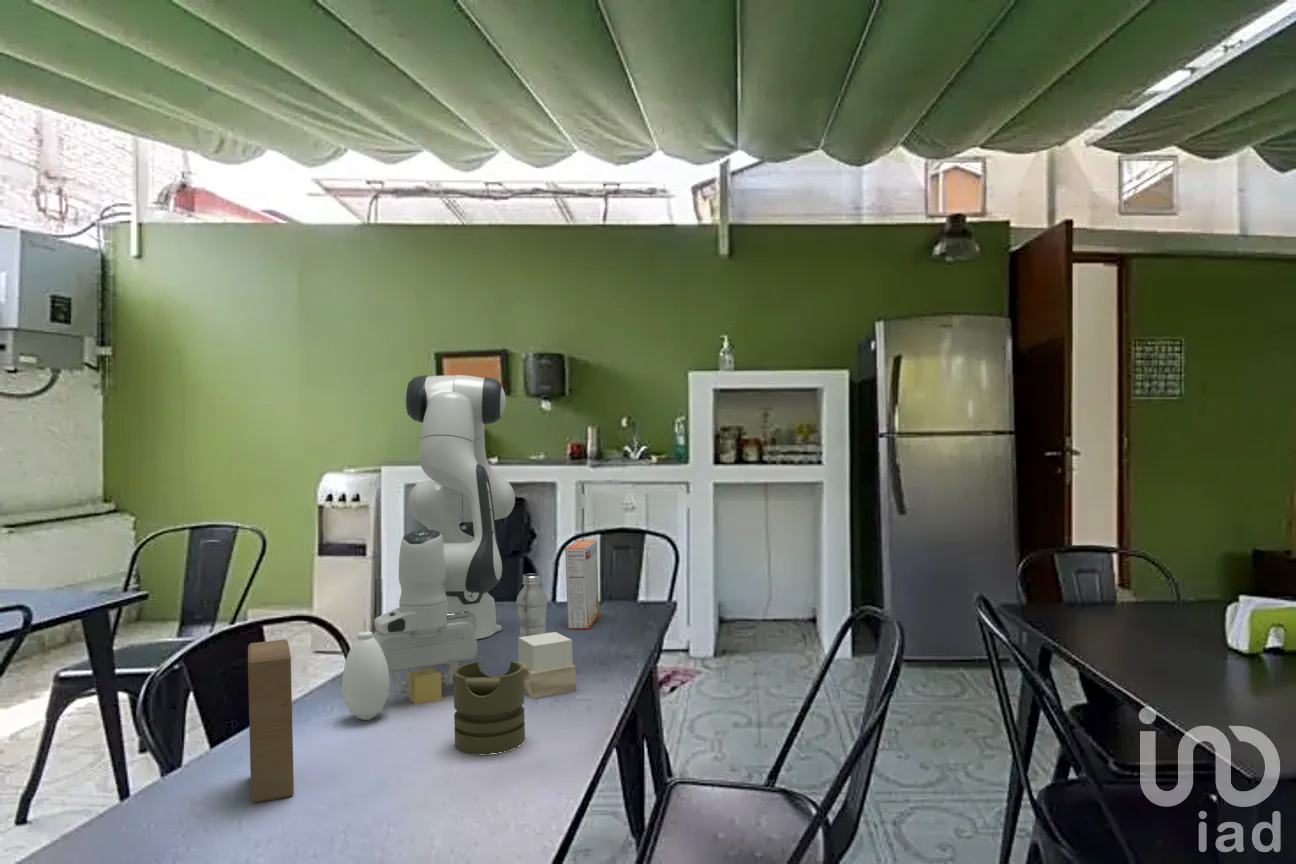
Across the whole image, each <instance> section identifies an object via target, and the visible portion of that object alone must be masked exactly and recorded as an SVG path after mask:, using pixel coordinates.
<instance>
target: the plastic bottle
mask: <svg viewBox="0 0 1296 864" xmlns="http://www.w3.org/2000/svg"><path fill="white" fill-rule="evenodd" d="M521 583H522V585H523V587H522V588H521V590H520V591H519V592H518V595H517V597H516V602H515V603H516V609H517V613H518V615H517V616H518V619H519V620H518V621H519V637H525V636H532V635H538V634H545V633H547V631H546V622H547V620H546V619H547V618H546V617H547V607H548V597H547V594H546V593H545V591H544V590H543V588H542V587H541V584H542V580H541V574H539V573H526V574H522V582H521ZM517 652H518V653H517V660H518V661H517V662H519V650H518V651H517Z"/></svg>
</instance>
